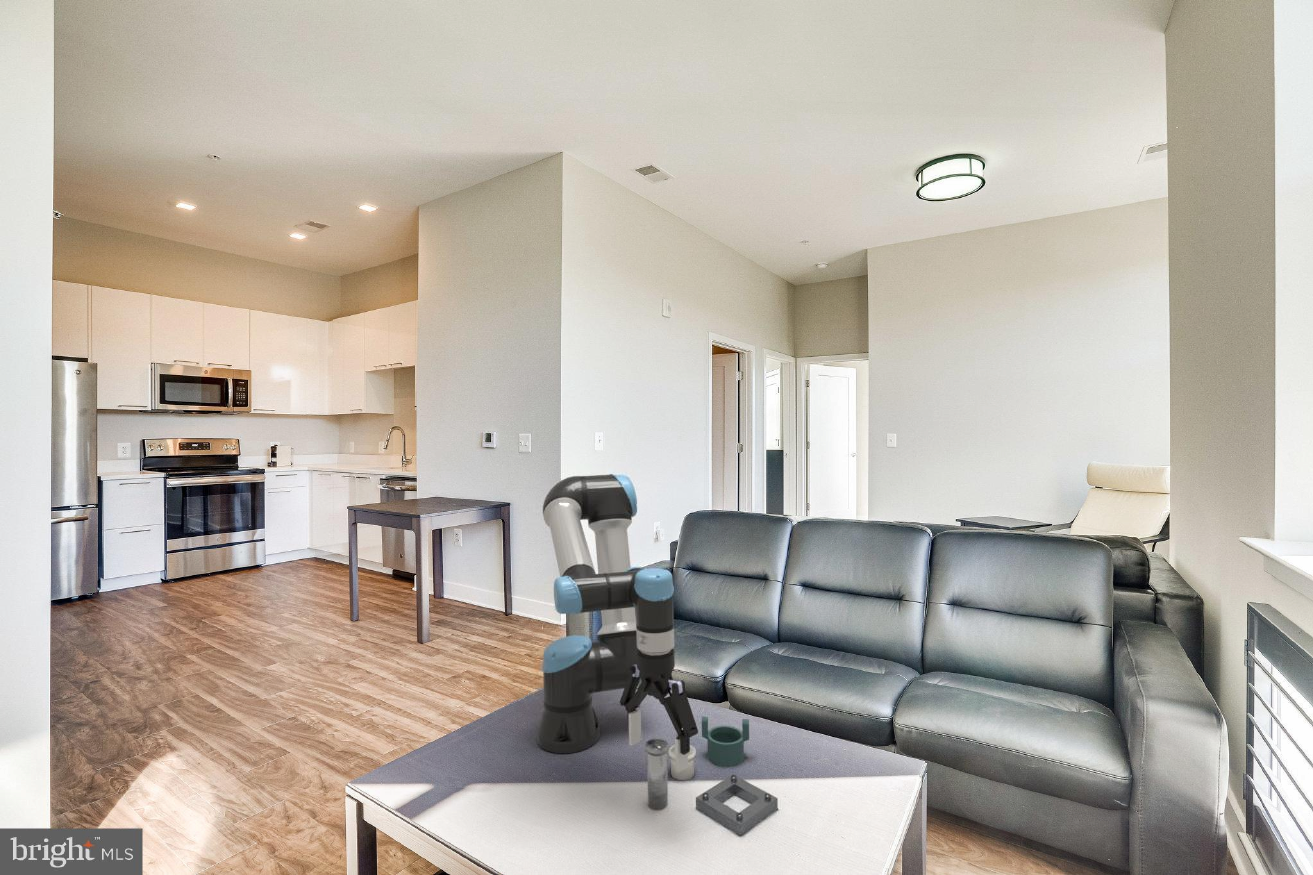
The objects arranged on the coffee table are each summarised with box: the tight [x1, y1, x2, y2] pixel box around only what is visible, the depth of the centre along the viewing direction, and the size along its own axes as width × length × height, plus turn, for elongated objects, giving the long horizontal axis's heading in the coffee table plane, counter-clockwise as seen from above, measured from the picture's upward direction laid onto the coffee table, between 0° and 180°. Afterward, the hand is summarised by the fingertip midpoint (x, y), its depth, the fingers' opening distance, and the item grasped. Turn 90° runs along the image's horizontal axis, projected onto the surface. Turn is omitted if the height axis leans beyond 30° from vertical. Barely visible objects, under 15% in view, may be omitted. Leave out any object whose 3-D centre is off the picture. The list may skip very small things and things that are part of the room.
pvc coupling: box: [668, 744, 697, 781], centre depth 133 cm, size 6×6×5 cm
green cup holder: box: [701, 716, 750, 768], centre depth 139 cm, size 9×9×9 cm
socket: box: [695, 774, 779, 837], centre depth 120 cm, size 11×11×3 cm
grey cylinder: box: [644, 738, 670, 811], centre depth 122 cm, size 5×5×12 cm
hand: (657, 755), depth 122 cm, fingers open, 13 cm apart
